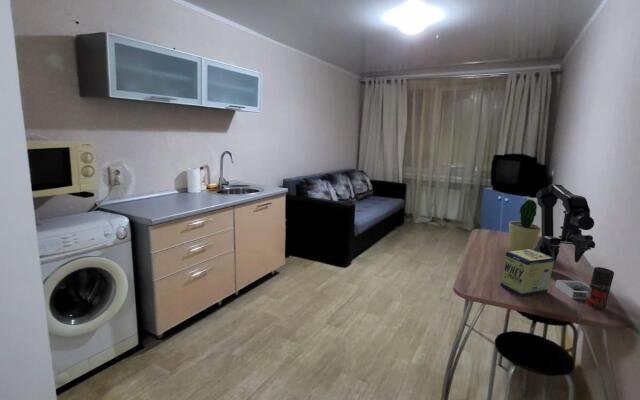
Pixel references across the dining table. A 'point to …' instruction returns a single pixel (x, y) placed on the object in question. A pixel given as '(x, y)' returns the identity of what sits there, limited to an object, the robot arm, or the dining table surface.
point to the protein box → (527, 272)
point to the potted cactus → (524, 228)
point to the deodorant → (599, 288)
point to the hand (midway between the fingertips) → (565, 261)
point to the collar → (570, 285)
